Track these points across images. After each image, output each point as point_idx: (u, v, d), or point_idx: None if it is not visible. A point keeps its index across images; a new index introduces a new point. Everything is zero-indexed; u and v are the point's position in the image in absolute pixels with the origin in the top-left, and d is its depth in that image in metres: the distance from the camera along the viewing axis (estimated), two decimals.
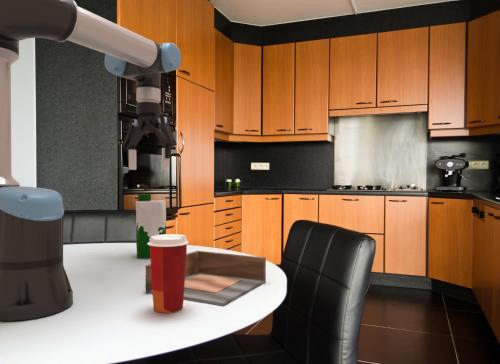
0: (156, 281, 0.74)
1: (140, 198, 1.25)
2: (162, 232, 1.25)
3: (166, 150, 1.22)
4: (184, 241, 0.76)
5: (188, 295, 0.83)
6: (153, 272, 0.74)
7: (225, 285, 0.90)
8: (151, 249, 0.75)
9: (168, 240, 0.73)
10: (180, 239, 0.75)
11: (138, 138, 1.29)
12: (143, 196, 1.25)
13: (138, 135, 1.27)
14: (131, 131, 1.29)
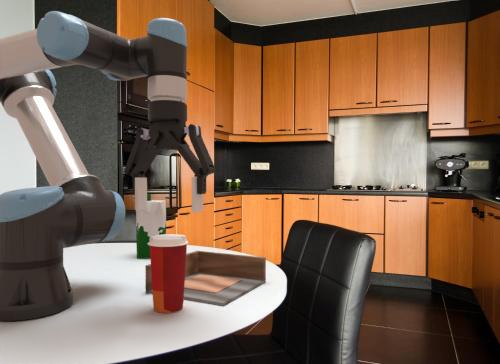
0: (156, 281, 0.74)
1: None
2: (162, 232, 1.25)
3: (199, 181, 0.73)
4: (184, 241, 0.76)
5: (188, 295, 0.83)
6: (153, 272, 0.74)
7: (225, 285, 0.90)
8: (151, 249, 0.75)
9: (168, 240, 0.73)
10: (180, 239, 0.75)
11: (150, 159, 0.79)
12: None
13: (150, 155, 0.78)
14: (139, 148, 0.80)
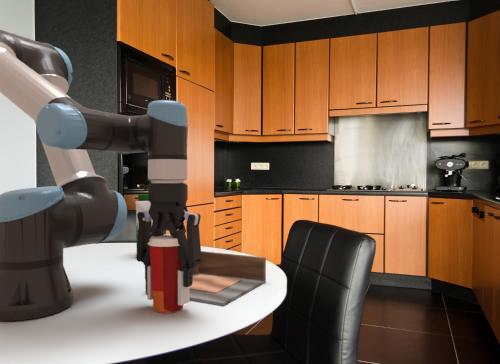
0: (156, 281, 0.74)
1: (140, 198, 1.25)
2: None
3: (185, 274, 0.74)
4: None
5: None
6: (153, 272, 0.74)
7: (225, 285, 0.90)
8: (151, 249, 0.75)
9: (168, 240, 0.73)
10: None
11: None
12: (143, 196, 1.25)
13: None
14: (144, 231, 0.78)
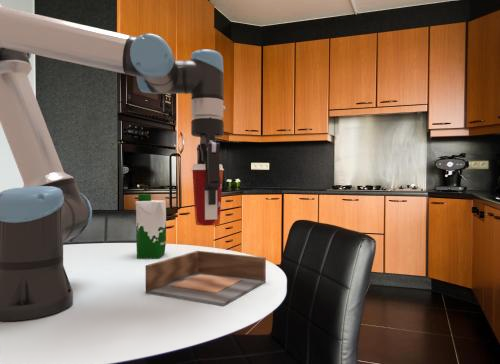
0: (194, 198, 0.92)
1: (140, 198, 1.25)
2: (162, 232, 1.25)
3: (209, 194, 0.88)
4: None
5: (188, 295, 0.83)
6: None
7: (225, 285, 0.90)
8: None
9: (198, 165, 0.89)
10: None
11: None
12: (143, 196, 1.25)
13: None
14: None
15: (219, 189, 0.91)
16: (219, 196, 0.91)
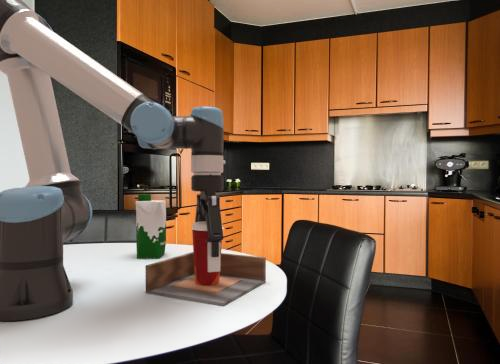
0: None
1: (140, 198, 1.25)
2: (162, 232, 1.25)
3: (212, 246, 0.85)
4: None
5: (188, 295, 0.83)
6: None
7: (225, 285, 0.90)
8: None
9: (198, 225, 0.90)
10: None
11: (204, 219, 0.97)
12: (143, 196, 1.25)
13: (201, 216, 0.96)
14: None
15: None
16: None
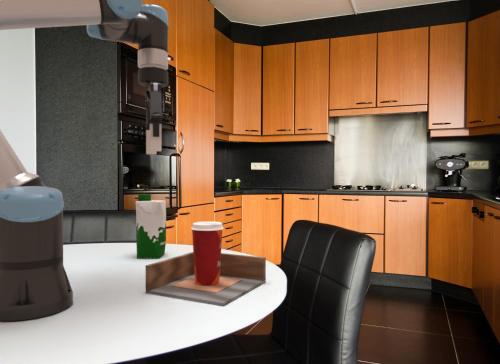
0: None
1: (140, 198, 1.25)
2: (162, 232, 1.25)
3: (153, 126, 0.93)
4: (212, 228, 0.89)
5: (188, 295, 0.83)
6: None
7: (225, 285, 0.90)
8: None
9: (197, 225, 0.90)
10: (207, 225, 0.89)
11: None
12: (143, 196, 1.25)
13: (149, 112, 1.04)
14: None
15: (219, 249, 0.91)
16: (219, 255, 0.91)
